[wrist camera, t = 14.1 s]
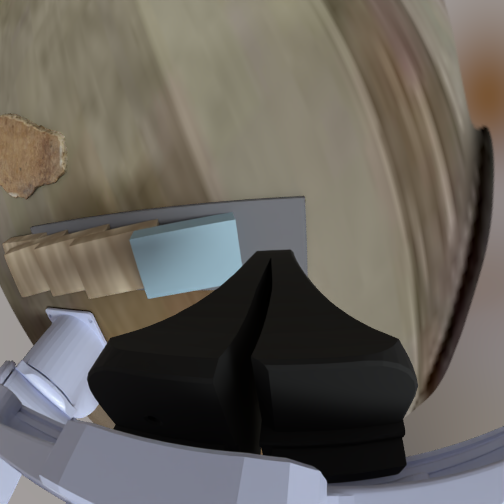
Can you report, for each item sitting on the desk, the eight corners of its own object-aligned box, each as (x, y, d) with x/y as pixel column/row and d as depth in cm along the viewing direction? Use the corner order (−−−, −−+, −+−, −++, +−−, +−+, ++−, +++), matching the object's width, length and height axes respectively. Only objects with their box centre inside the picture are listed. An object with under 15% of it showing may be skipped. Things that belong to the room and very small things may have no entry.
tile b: (105, 230, 20) (33, 249, 19) (121, 282, 22) (53, 296, 21) (109, 223, 22) (40, 242, 20) (124, 273, 24) (58, 287, 22)
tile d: (36, 239, 21) (2, 243, 23) (52, 282, 23) (16, 280, 25) (46, 232, 23) (11, 237, 24) (61, 273, 25) (25, 273, 26)
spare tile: (235, 219, 19) (129, 239, 18) (244, 281, 21) (148, 298, 20) (232, 212, 20) (133, 230, 19) (240, 270, 22) (150, 286, 21)
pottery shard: (-10, 101, 18) (-21, 103, 16) (79, 135, 19) (66, 138, 18) (-18, 165, 21) (-28, 170, 20) (64, 216, 23) (52, 223, 21)
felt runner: (307, 284, 22) (307, 287, 22) (54, 285, 26) (52, 287, 26) (304, 196, 19) (304, 197, 19) (32, 226, 23) (30, 228, 23)
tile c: (63, 235, 21) (3, 255, 19) (80, 282, 23) (22, 297, 21) (67, 229, 22) (10, 248, 21) (83, 273, 24) (26, 289, 23)
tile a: (156, 225, 19) (68, 246, 18) (171, 282, 22) (89, 299, 20) (157, 218, 21) (75, 238, 20) (171, 272, 23) (93, 288, 22)
